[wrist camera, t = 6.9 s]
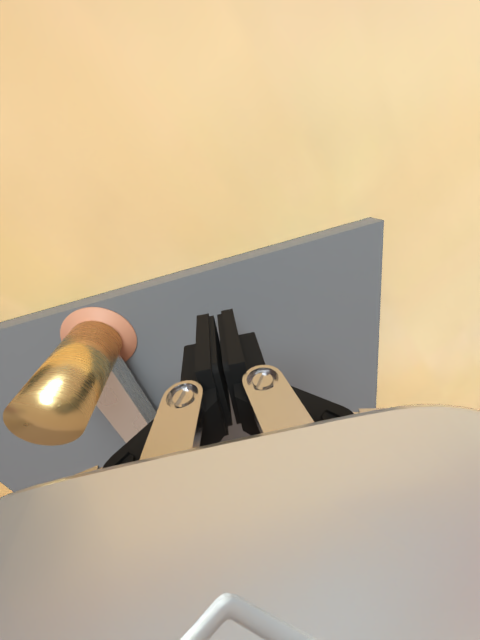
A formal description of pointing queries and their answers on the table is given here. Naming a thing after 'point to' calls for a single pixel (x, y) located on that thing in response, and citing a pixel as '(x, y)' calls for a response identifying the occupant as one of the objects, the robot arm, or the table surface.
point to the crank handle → (79, 390)
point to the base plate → (250, 316)
